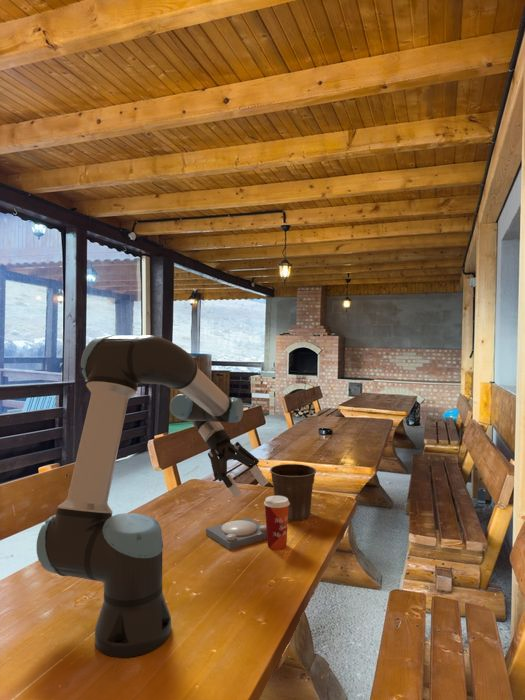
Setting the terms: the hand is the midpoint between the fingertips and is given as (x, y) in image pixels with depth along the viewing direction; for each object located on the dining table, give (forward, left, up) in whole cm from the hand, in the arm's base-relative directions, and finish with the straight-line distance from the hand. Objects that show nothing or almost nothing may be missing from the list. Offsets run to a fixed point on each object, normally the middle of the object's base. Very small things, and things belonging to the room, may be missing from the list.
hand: (252, 489), depth 145 cm
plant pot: (+23, +8, -15) cm, 28 cm away
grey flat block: (-2, +4, -15) cm, 16 cm away
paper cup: (+3, -9, -15) cm, 18 cm away
